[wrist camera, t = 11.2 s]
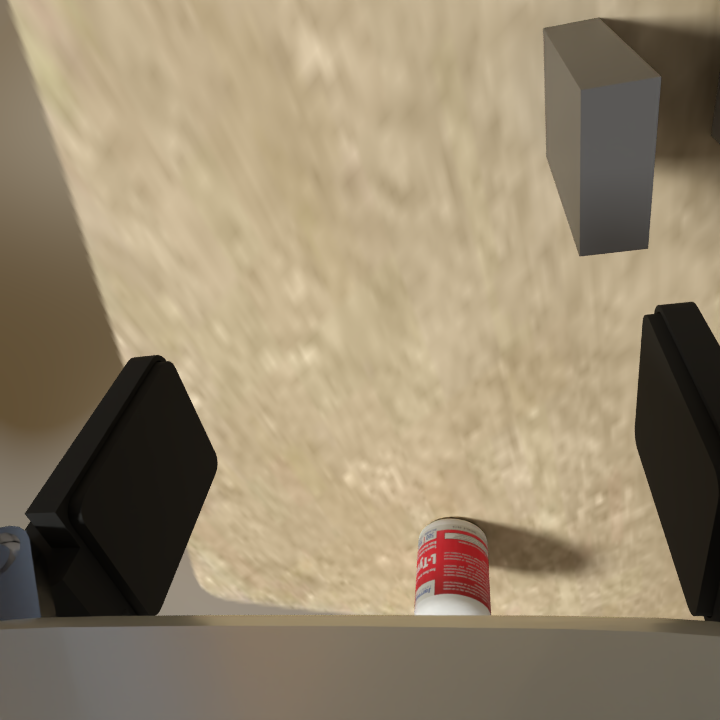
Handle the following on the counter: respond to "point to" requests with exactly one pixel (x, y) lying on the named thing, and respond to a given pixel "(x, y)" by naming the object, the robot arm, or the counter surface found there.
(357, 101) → the counter surface
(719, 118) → the domino
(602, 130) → the domino
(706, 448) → the robot arm
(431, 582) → the pill bottle
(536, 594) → the counter surface
